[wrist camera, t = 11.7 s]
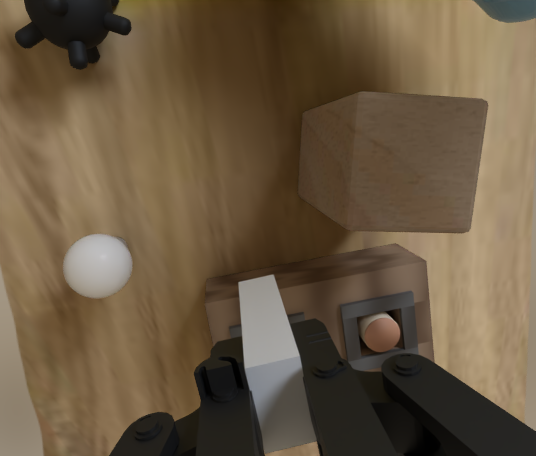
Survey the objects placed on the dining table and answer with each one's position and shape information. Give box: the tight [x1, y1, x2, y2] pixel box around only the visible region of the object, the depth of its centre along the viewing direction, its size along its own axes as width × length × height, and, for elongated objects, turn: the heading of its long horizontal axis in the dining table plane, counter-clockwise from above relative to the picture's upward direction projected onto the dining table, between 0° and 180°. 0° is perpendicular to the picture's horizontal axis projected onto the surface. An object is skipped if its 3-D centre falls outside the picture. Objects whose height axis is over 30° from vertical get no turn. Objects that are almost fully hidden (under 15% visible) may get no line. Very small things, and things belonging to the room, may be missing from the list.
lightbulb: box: [63, 234, 133, 298], centre depth 44 cm, size 6×6×11 cm
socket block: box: [205, 243, 434, 372], centre depth 49 cm, size 24×14×9 cm, turn 99°
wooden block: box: [298, 91, 488, 233], centre depth 40 cm, size 10×10×20 cm
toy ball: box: [15, 0, 131, 69], centre depth 40 cm, size 11×11×12 cm
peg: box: [357, 311, 400, 352], centre depth 49 cm, size 4×4×8 cm
